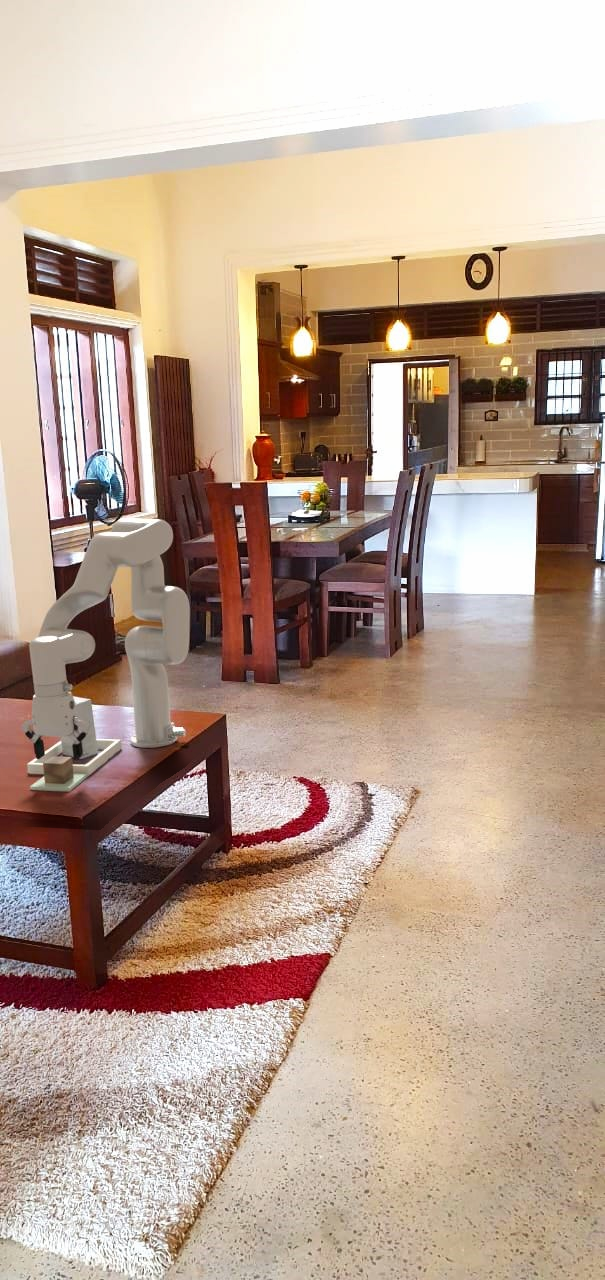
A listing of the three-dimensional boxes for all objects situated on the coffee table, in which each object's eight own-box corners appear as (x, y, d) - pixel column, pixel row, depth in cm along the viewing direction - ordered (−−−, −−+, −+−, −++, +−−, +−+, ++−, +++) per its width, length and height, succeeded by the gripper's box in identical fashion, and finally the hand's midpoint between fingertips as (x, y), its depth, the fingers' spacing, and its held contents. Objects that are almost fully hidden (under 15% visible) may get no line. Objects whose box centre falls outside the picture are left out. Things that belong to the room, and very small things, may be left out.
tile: (87, 776, 233) (87, 773, 232) (69, 791, 223) (69, 788, 223) (49, 775, 235) (49, 772, 235) (30, 789, 225) (29, 786, 225)
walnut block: (73, 776, 231) (71, 756, 230) (64, 784, 226) (62, 763, 225) (54, 775, 232) (52, 756, 231) (44, 783, 227) (42, 763, 226)
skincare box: (98, 754, 249) (93, 699, 246) (79, 760, 245) (74, 704, 242) (79, 748, 255) (74, 694, 252) (60, 754, 250) (54, 699, 247)
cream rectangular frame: (121, 748, 253) (120, 739, 253) (88, 775, 233) (87, 766, 233) (65, 746, 257) (64, 738, 256) (28, 773, 236) (27, 764, 236)
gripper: (92, 684, 226) (99, 753, 230) (25, 684, 230) (33, 751, 234) (78, 693, 219) (86, 764, 223) (9, 693, 223) (18, 762, 227)
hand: (59, 757), depth 228 cm, fingers open, 9 cm apart
